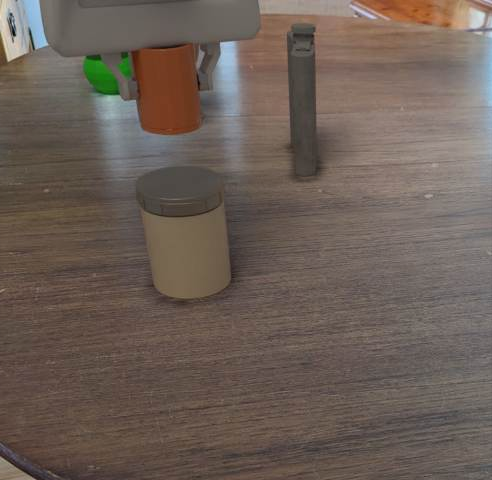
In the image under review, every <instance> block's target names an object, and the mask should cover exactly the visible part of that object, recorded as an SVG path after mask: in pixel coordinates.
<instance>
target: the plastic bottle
mask: <svg viewBox="0 0 492 480" xmlns="http://www.w3.org/2000/svg"><path fill="white" fill-rule="evenodd" d="M121 58H122V64H121V65H117V64H116V66H117V67H118V68H119V69H120V71H121V72H122V73H123V75H124V76H125V77H132V74H131V68H130V62H129V56H128V52H121ZM82 69H83V74H84V76H85V78H86V80H87V82H88V83H89V84H90V85H91V86H92V87H93V88H94V89H96V90H97V91H99V92H100V93H102V94H105V95H117V94H120V93H119V87H118V81H117V79H116V78H115V77H114V76H113V74H112V73H111V72H110V71H109V69H108V68H107V67H106V66H105V64H104V63H103V62H102V59H101V54H99V55H89V56H84V58H83V63H82Z"/></svg>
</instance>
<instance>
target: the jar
mask: <svg viewBox="0 0 492 480" xmlns="http://www.w3.org/2000/svg"><path fill="white" fill-rule="evenodd" d="M225 207H226V206H225V199H224V200H223V201H222V203H221V204H220V205H218V206H217V207H215V208H213V209H211V210H209V211H206V212H203V213H199V214H193V215H187V216H166V215H159V214H155V213H151V212H148V211H146V210H144V209H143V208H142V207H141V206H140V205H139V209H140V215H141V221H142V226H143V232H144V238H145V245H146V248H147V254H148V260H149V265H150V271H151V277H152V284H153V287H154V288H155V290H156V291H157V292H159V293H160V294H162V295H164V296H165V297H169V298H173V299H181V300H194V299H202V298H207V297H210V296H212V295H215V294H218V293H220V292H222V291H223V290H225V289H226V288H227V287H229V285H230V283H231V281H232V269H231V268H232V267H231V257H230V248H229V238H228V227H227V217H226V210H225V209H226V208H225Z"/></svg>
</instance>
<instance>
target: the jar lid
mask: <svg viewBox="0 0 492 480" xmlns="http://www.w3.org/2000/svg"><path fill="white" fill-rule="evenodd" d="M134 188H135V197H136V202H137V203H138V205H139V207H140V206H141V207H142V208H143V209H144V210H146V211H148V212H151V213H155V214H159V215H166V216H187V215H193V214H199V213H203V212H206V211H209V210H211V209H213V208H215V207H217V206H218V205H220V204H221V203H222V201H223V200H224V201H225V194H226V191H225V183H224V179H223V176H222V175H221V174H220V173H218V172H217V171H215V170H212V169H209V168H207V167H201V166H194V165H175V166H174V165H173V166H167V167H166V166H165V167H160V168H157V169H154V170H151V171H148V172H146V173H143V174H142V175H141V176H139V177H138V178H137V180H136V181H135V184H134Z"/></svg>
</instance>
